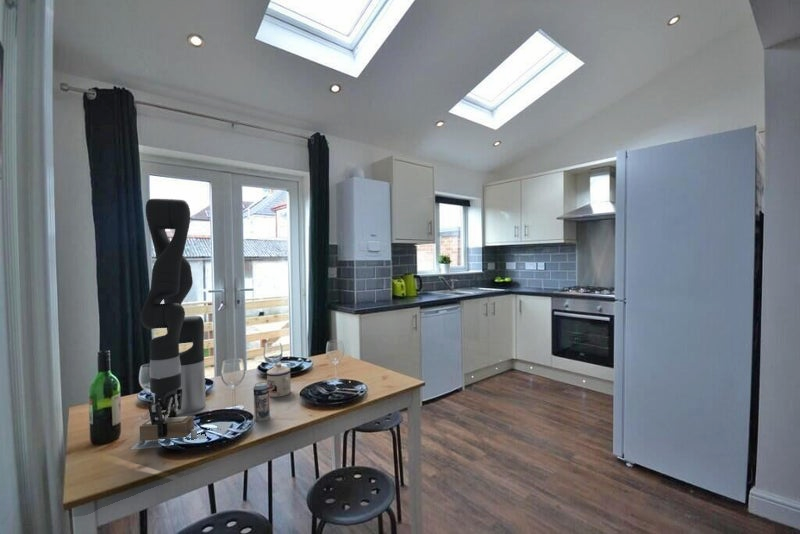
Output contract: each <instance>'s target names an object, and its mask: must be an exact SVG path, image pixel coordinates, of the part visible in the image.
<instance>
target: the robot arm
mask: <svg viewBox="0 0 800 534" xmlns="http://www.w3.org/2000/svg"><path fill="white" fill-rule="evenodd" d="M145 217H146V221H147V226H148V230H149V232H150V237H151V240H152V244H153V248H154V252H155V253H154V254H155V262H153V263H154V264H153V266H152V271H151V281H150V289H149V292H148V295H147V298H146V300H145V303H144V304H143V307H142V309H141V311H140V318H139V319H140V323H141V325H142V326H143V328H145V329H148V330H156V329H166V334H164V335H160V336H157V337H154V338H152V339H151V340H150V341H149V369H148V370H149V391H150V393H151V394H155V399H154V403H153V404H149V405H148V413H149V419H151V424H152V425H157V431H158V437H159V438H161V437H166V436H167V423H166V422H167V418H171V417H178V415H181V414H187V413H188V414H189V413H192V412H196V411H200V410H201V409H204V408H206V406H207V403H206V401H207V399H206V396H207V395H206V376H205V354H204V353H205V347H204V346H205V344H204V341H205V340H204V335H205V325H204V319H203V317H201V316H199V315H193V316H186V312H185V309H184V307H183V306H182V303H183V301H184V300H185V298H186V297H187V296H188V294H189V293H190V291H191V289H192V286H193V284H194V283H193V273H192V266H191V264H190V262H189V261H188V260H187V258H186V257H185V256H184V253H185V247H186V243H187V239H188V234H189V229H190V223H191V210H190V205H189V203H188V202H187V201H186V200H184V199H180V198H179V199H177V198H176V199H174V198H150V199H148V200H147V201H146V204H145ZM166 230H174V232H173V236H172V239H170V238H169V236H168V234H167V232H166ZM162 302H163V303H162ZM188 343H189V344H190V343H191V344H192V345H191V347H190V348H188V349H187V350H184V351H181V352H180V344H188ZM155 419H156V420H155Z"/></svg>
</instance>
